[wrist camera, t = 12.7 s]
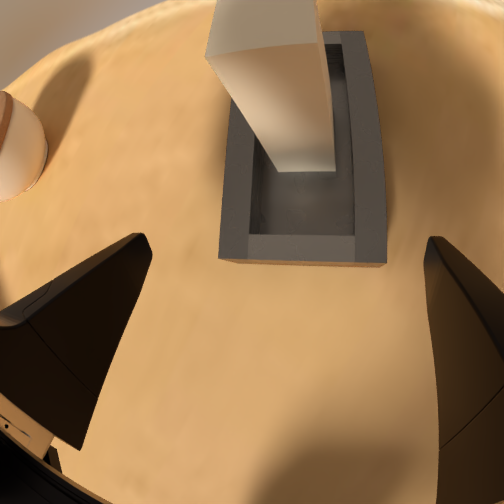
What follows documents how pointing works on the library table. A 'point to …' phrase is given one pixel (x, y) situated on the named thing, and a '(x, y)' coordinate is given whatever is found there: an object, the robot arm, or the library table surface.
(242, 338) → the library table surface
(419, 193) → the library table surface
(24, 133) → the lidded jar
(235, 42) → the pale grey rectangular block
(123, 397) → the library table surface
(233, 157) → the grey rectangular tray
